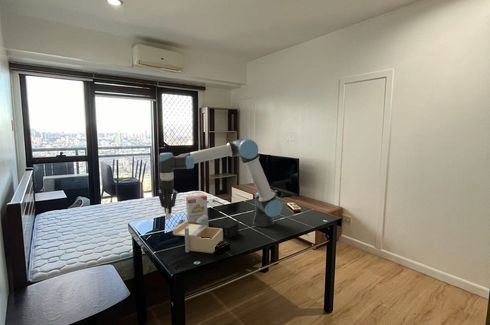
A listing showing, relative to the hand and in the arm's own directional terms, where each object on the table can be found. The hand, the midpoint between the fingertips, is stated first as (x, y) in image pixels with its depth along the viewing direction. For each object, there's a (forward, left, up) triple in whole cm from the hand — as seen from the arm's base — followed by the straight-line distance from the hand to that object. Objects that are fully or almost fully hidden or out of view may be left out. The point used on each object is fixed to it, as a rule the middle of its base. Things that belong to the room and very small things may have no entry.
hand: (168, 218), depth 151 cm
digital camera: (-32, -20, -16) cm, 41 cm away
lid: (-13, -2, -7) cm, 15 cm away
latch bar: (-16, -12, -4) cm, 20 cm away
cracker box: (-2, -33, -16) cm, 37 cm away
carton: (-23, -6, -15) cm, 28 cm away
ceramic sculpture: (+2, -19, -16) cm, 24 cm away
